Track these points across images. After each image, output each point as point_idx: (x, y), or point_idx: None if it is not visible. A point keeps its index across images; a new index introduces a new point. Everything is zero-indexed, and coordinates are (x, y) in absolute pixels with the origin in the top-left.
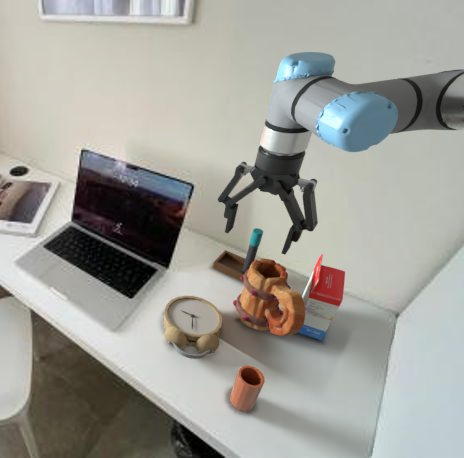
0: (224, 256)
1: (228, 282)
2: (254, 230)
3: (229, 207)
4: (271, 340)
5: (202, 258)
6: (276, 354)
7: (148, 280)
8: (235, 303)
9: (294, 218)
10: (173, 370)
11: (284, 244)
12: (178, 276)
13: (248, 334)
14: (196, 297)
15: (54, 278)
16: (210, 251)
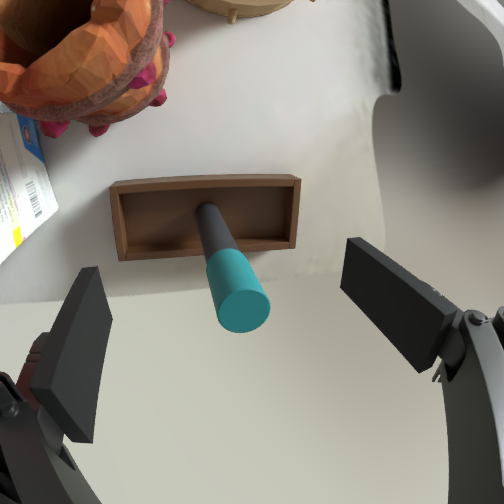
0: (285, 230)
1: (229, 148)
2: (262, 305)
3: (454, 320)
4: None
5: (327, 193)
6: None
7: (387, 48)
8: (165, 32)
9: (30, 478)
10: None
11: (82, 298)
12: (346, 91)
13: None
14: (273, 2)
15: (473, 10)
16: (321, 232)
